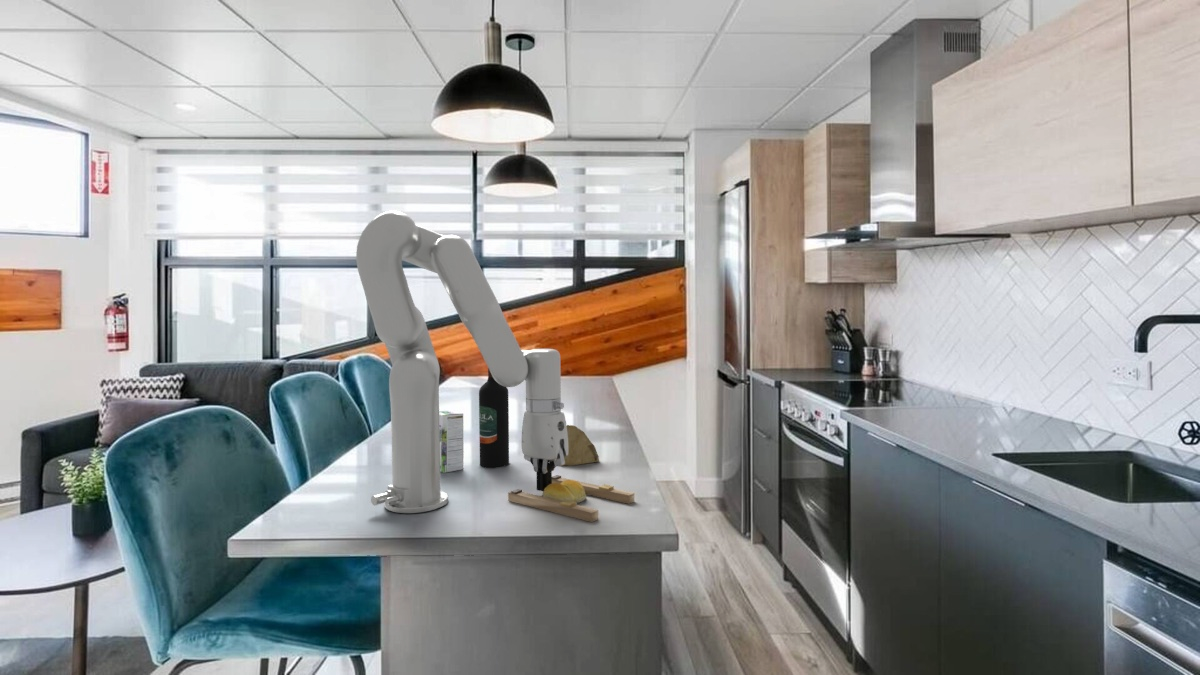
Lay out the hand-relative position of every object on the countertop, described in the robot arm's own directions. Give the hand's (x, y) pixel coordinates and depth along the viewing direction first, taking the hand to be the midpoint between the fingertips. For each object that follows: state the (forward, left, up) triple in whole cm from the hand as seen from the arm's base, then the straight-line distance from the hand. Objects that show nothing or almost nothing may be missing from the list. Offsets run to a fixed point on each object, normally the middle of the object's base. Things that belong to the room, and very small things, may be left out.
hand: (544, 489), depth 131 cm
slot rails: (0, -8, -1) cm, 8 cm away
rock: (+26, +10, -2) cm, 28 cm away
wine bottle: (+12, +27, -1) cm, 30 cm away
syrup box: (+2, +33, -1) cm, 34 cm away
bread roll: (0, -6, -2) cm, 6 cm away
